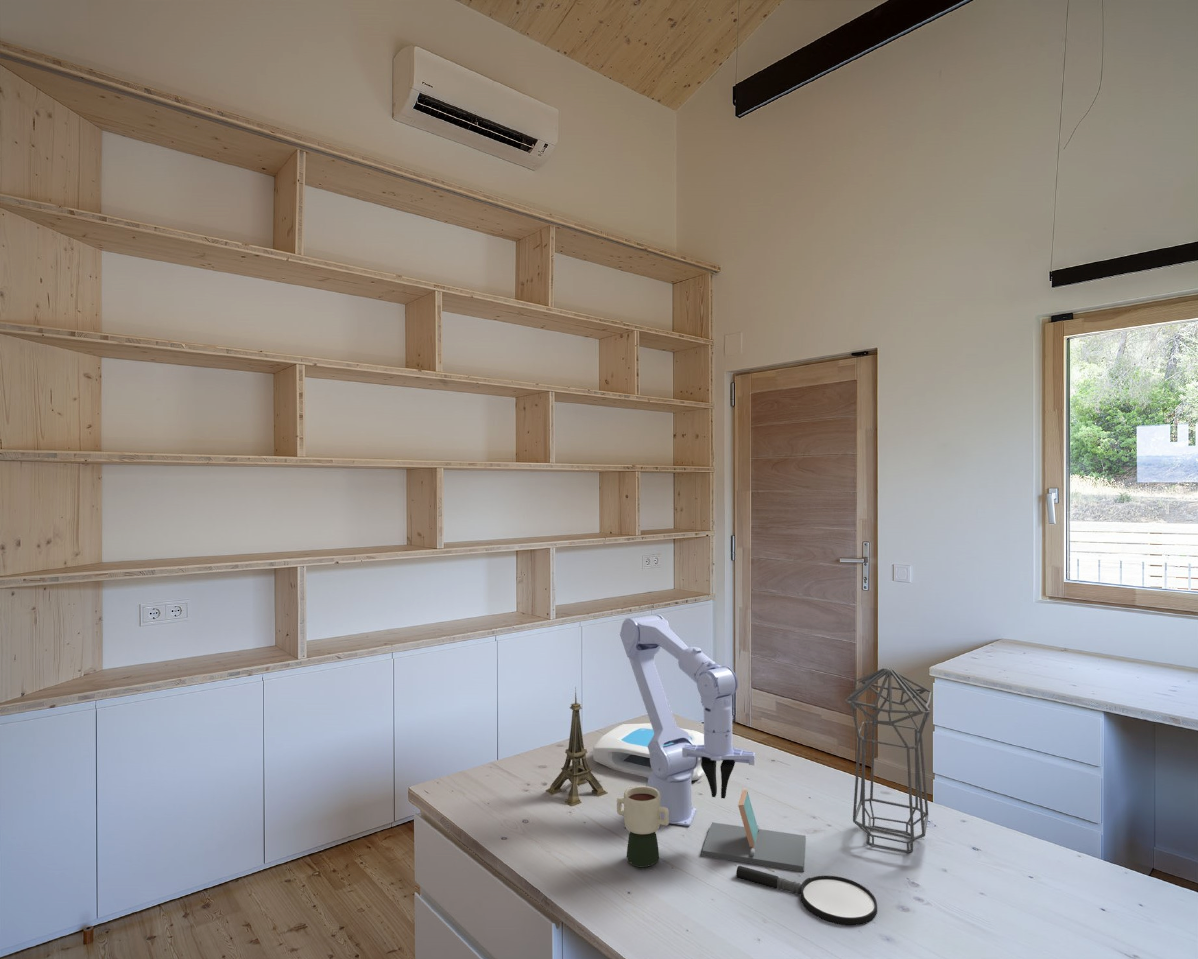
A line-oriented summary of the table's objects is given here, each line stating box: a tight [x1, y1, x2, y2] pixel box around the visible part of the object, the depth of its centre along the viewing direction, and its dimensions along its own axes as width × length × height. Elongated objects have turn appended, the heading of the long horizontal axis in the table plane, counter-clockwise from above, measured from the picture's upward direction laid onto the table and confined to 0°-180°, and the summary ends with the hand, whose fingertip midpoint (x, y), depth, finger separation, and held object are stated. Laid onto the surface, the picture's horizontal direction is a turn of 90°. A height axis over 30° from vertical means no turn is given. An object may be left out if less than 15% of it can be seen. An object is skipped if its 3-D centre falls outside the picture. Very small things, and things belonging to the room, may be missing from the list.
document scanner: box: [592, 722, 705, 782], centre depth 180 cm, size 21×28×6 cm
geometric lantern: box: [844, 667, 933, 854], centre depth 138 cm, size 16×16×35 cm
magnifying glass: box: [735, 865, 878, 927], centre depth 120 cm, size 12×24×2 cm, turn 61°
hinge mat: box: [701, 822, 807, 873], centre depth 135 cm, size 19×12×2 cm, turn 71°
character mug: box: [616, 785, 670, 868], centre depth 131 cm, size 11×7×13 cm, turn 62°
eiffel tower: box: [545, 686, 609, 807], centre depth 162 cm, size 11×11×25 cm
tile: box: [737, 789, 759, 847], centre depth 136 cm, size 8×7×1 cm
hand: (719, 795), depth 138 cm, fingers closed
